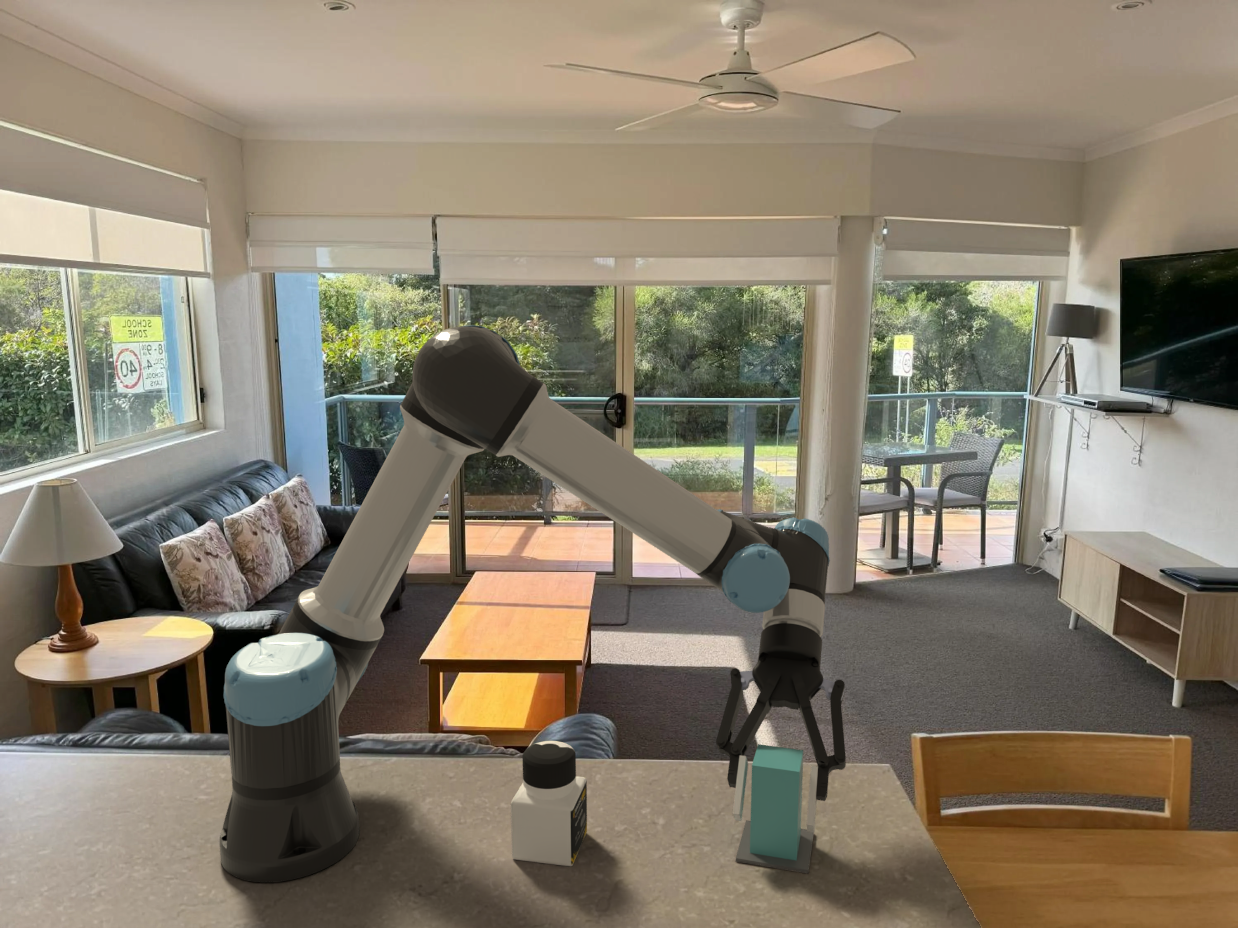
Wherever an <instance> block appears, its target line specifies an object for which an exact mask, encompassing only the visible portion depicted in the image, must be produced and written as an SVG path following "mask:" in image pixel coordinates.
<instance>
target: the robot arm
mask: <svg viewBox="0 0 1238 928" xmlns="http://www.w3.org/2000/svg"><path fill="white" fill-rule="evenodd" d="M399 409H400V412H401V415H402V418H403V419H402V420H403V427H402V428H401V430H400V432H399V433H398V436H397V437H396V440H395V442H394V443H393V445H392V447H391V449H390V451H389V452H388V454H387V457H386V459H385V460H384V462H383V464H382V466H381V468H380V469H379V471H378V473H377V475H376V477H375V478H374V481H373V483H372V485H371V486H370V488H369V490H368V492H367V493H366V496H365V498H364V499H363V501H362V504H360V507H359V508H358V511H357V512H356V514H355V516H354V519H353V520H352V522H351V524H350V526H349V528H348V529H347V531H346V533H345V535H344V537H343V539H342V541H341V543H340V544H339V546H338V548H337V550H336V552H335V554H334V555H333V558H332V560H331V561H330V563H329V565H328V567H327V569H326V571H325V573H324V575H323V576H322V578H321V580H320V582H319V583H318V586H315V587H312V588H308V589H304V590H303V591H301V592H300V593H299V595H298V597H297V599H296V600H295V603H294V604H293V607H292V608H291V609H290V612H289V614H288V615H287V617H286V619H285V621H284V622H283V625H282V627H281V628H280V631H279V632H278V633H277V634H273V635H269V636H266V637H262V638H260V639H259V640H258V642H250V643H248V644H247V645H246V646H244V647H242V648H241V649H239V650H238V651H236V653H235V654H234V655H232V657H231V658H230V660H229V662H228V664H227V665H226V668H225V672H224V685H223V695H222V696H223V699H224V701H223V702H224V704H225V712H226V713H225V714H226V722H227V723H226V725H227V727H226V728H227V739H228V747H229V749H228V750H229V761H230V762H229V763H230V774H231V786H232V788H231V789H232V791H231V795H230V800H229V802H228V806H227V809H226V810H227V811H226V813H225V816H224V820H223V821H224V822H223V824H222V828H221V832H220V835H219V841H218V842H219V856H220V857H219V859H220V863H221V865H222V867H223V869H224V870H225V871H226V872H227V873H228V874H230V875H231V876H233V877H235V878H237V879H240V880H244V881H248V882H252V883H253V882H254V883H255V882H256V883H279V882H287V881H292V880H296V879H301V878H303V877H307V876H310V875H312V874H313V875H314V874H315V873H318V872H320V871H323V870H325V869H327V868H329V867H331V866H332V865H334V864H335V863H337V862H339V861H341V860H342V859H343V858H344V857H345V856H347V855H348V854H349V853H350V852H351V851H352V849H353V848H354V847H355V845H356V843H357V842H358V839H359V837H360V819H359V817H360V816H359V812H358V808H357V806H356V805H355V803H354V801H353V800H352V797H351V795H350V792H349V790H348V787H347V784H346V782H345V778H344V777H343V774H342V771H341V770H342V769H341V758H340V757H341V754H340V752H341V751H340V738H339V736H340V735H339V718H340V715H341V713H342V711H343V709H344V707H345V705H346V704H347V701H348V699H349V698H350V696H351V694H352V693H353V691H354V689H355V687H356V685H357V684H358V683H359V681H360V680H361V679H362V677H363V675H364V674H365V672H366V669H367V668H368V665H369V661H370V660H371V658H372V656H373V655H374V652H375V651H376V649H377V648H378V645H379V643H380V640H381V639H382V637H383V636H384V632H385V627H384V623H383V621H382V619H381V618H382V617H381V614H382V613H383V611H384V609H385V607H386V605H387V603H388V602H389V599H390V598H391V596H392V594H393V593H394V591H395V589H396V587H397V585H398V583H399V581H400V579H401V577H402V576H403V574H404V572H405V570H406V568H407V567H408V565H409V563H410V561H411V559H412V558H413V556H414V554H415V552H416V551H417V549H418V546H419V544H421V543H420V542H421V541H422V539H423V537H424V536H425V533H426V532H427V529H428V528H429V526H430V524H431V523H432V520H433V519H434V517H435V515H436V513H437V512H438V510H439V508H440V506H441V504H442V502H443V501H444V498H445V497H446V496H447V493H448V491H449V490H450V487H451V486H452V484H453V482H454V480H455V479H456V477H457V474H458V473H459V471H460V469H461V467H462V466H463V464H464V461H465V460H466V458H467V457H468V456H471V455H473V454H476V453H480V452H483V451H484V450H486V451H489V452H490V453H491V454H493V455H494V456H496V457H497V458H500V457H504V456H513V457H515V458H516V459H518V460H519V461H520V462H522V463H524V464H525V465H527V466H528V467H530V468H532V469H533V470H534V471H536V472H537V473H539V474H541V475H543V476H544V477H545V478H547V479H548V480H550V481H552V482H553V483H555V484H556V485H558V486H559V487H561V488H563V489H565V490H566V491H568V492H569V493H570V494H572V495H574V496H575V497H576V498H578V499H579V500H581V501H583V502H584V503H586V504H587V505H589V506H590V507H592V508H593V509H595V510H597V511H598V512H599V513H602V514H603V515H604V516H606V517H607V518H609V519H610V520H612V521H614V522H615V523H617V524H619V525H621V527H623V528H624V529H627V531H629V532H631V533H632V534H634V535H635V536H637V537H638V538H640V539H642V540H643V541H645V542H646V543H648V544H650V545H651V546H652V547H654V548H655V549H657V550H659V551H660V552H662V553H664V554H665V555H667V556H669V557H670V558H671V559H673V560H675V561H676V562H678V563H679V564H680V565H682V566H684V567H686V568H687V569H688V570H690V571H692V572H693V573H694V574H695V575H697V576H698V577H700V578H701V579H703V580H704V581H705V582H707V583H709V584H710V585H712V586H713V587H715V588H716V589H718V590H720V591H721V592H723V595H724V596H725V597H726V599H727V600H728V601H729V602H731V603H732V604H733V605H735V606H736V607H737V608H738V609H740V610H742V611H744V612H747V613H753V614H758V613H759V614H760V613H763V616H762V624H761V627H762V631H761V633H760V642H759V648H758V657H757V658H758V659H757V661H756V664H755V666H754V667H753V668H752V670H742V671H741V670H740V669H738V668H736V667H735V668H733V669H731V670H730V683H731V686H730V690H729V694H728V697H727V702H726V705H725V707H724V710H723V711H724V712H723V714H722V719H721V722H720V726H719V729H718V733H717V736H716V740H715V743H716V747H717V750H718V752H719V753H720V754H723V755H725V756H728V758H729V762H728V768H727V769H728V770H727V776H726V777H727V778H726V779H727V783H728V786H729V788H735V790H734V796H733V799H734V800H733V806H732V816H733V818H734V821H738V822H742V819H743V812H744V804H745V803H744V802H745V794H746V785H747V777H748V769H749V762H748V759H747V756H746V755H745V754H746V753H747V751H748V749H749V747H750V745H751V743H752V742H753V740H754V738H755V737H756V734H757V733H758V730H759V729H760V727H761V725H762V724H763V722H764V720H765V718H766V717H767V715H768V714H769V713H770V711H771V709H772V708H784V707H785V708H787V709H790V710H797V711H798V710H799V712H800V716H801V718H802V720H803V721H802V722H803V723H804V727H805V730H806V733H807V736H808V740H809V742H810V747H811V749H812V752H813V754H814V755H813V756H814V759H815V761H816V762H815V763H816V764H817V765H815V764H811V766H810V772H809V775H810V776H809V785H808V800H807V814H806V830H807V832H814V833H815V826H816V816H817V815H816V813H817V812H816V811H817V801H823V802H825V801H826V800H827V798H828V790H829V777H830V773H831V772H832V771H836V770H839V771H841V770H844V769H845V768H846V766H847V765H846V762H847V761H846V759H847V758H846V744H845V735H844V734H845V733H844V723H843V711H842V704H843V701H844V697H845V693H846V692H845V690H846V687H845V682H844V681H843V680H842V679H837V680H835V681H833V680H830V679H828V678H825V677H824V676H823V674H822V671H821V662H822V646H823V639H822V636H823V634H824V624H825V623H824V622H825V610H826V604H825V603H826V593H827V581H828V573H829V572H828V570H829V565H830V561H831V560H830V543H829V540H830V537H829V534H828V532H827V531H826V529H825V528H824V527H823V526H822V525H821V524H820V523H818V522H816V521H814V520H812V519H809V518H802V519H799V518H797V517H789V518H785V519H782V520H781V521H778V522H777V523H776V525H775V526H774V527H771V526H770V527H769V526H766V525H764V524H761V523H757V522H756V521H752V520H750V519H748V518H747V519H746V518H743V517H741V516H738V515H735V514H732V513H729V512H726V511H724V509H720V508H719V509H716V508H715V507H713V506H712V505H710V504H709V503H707V502H705V501H704V500H703V499H701V498H700V497H698V496H697V495H695V494H694V493H692V492H691V491H689V490H688V489H686V488H685V487H683V486H682V485H680V484H679V483H677V482H675V481H674V480H673V479H672V478H669V477H668V476H667V475H666V474H664V473H663V472H661V471H659V470H658V469H656V468H655V467H654V466H652V465H650V464H649V463H647V462H646V461H645V460H643V459H641V458H640V457H638V456H637V455H635V454H634V453H632V452H631V451H630V450H627V448H625V447H624V446H622V445H621V444H620V443H617V442H616V441H614V440H613V439H611V438H610V437H608V436H607V435H606V434H603V433H602V432H601V431H599V430H598V429H596V427H593V426H592V425H590V424H589V423H588V422H586V421H584V420H583V419H582V418H580V417H578V416H577V415H575V414H574V413H573V412H571V411H570V410H569V409H566V408H565V407H563V406H562V405H560V404H559V403H557V402H556V401H555V400H553V399H551V397H550V396H549V392H548V388H547V384H545V383H544V382H542V381H541V380H539V378H537V377H536V376H534V375H532V374H530V373H529V372H528V371H527V370H526V369H524V368H523V367H522V366H521V364H520V360H519V357H518V354H517V352H516V350H515V349H514V347H513V346H512V345H511V343H510V342H509V341H508V340H507V339H506V338H505V337H503V336H501V335H500V334H499V333H497V331H496V330H493V329H490V328H488V327H485V326H483V325H482V326H481V325H476V324H475V325H474V324H470V325H460V326H453V327H449V328H446V329H444V330H440V331H439V332H437V333H436V334H434V335H432V336H431V337H430V338H429V339H427V341H426V342H425V343H424V344H423V345H422V346H421V348H420V350H419V351H418V353H417V354H416V358H415V359H414V364H413V368H412V383H411V384H410V386H409V388H408V390H407V392H406V394H405V396H404V398H403V399H402V401H401V404H400V405H399ZM752 682H754V683H755V685H756V687H757V688H758V690H759V694H758V696H757V697H756V701H755V702H754V703H755V704H754V705H753V707H752V709H751V710H750V713H749V714H748V716H747V718H746V720H745V721H744V723H743V725H742V727H741V728H740V730H739V732H738V734H737V735H736V737H735V739H734V741H733V742H732V737H733V733H734V730H735V727H736V723H737V719H738V715H739V713H740V708H741V705H742V702H743V698H744V697H743V696H744V691H746V690H748V689H749V686H750V683H752ZM821 690H823V691H824V694H825V698H826V699H827V700H828V701H830V704H829V705H830V717H831V732H832V743H833V754H832V755H828V753H827V751H826V748H825V745H824V742H823V739H822V734H821V731H820V729H819V726H818V723H817V720H816V717H815V714H814V711H813V707H812V702H811V700H812V699H813V698H814V697H815V696H816V695H817V694H818V693H819V692H820V691H821Z"/></svg>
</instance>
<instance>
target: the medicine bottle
mask: <svg viewBox="0 0 1238 928" xmlns="http://www.w3.org/2000/svg"><path fill="white" fill-rule="evenodd" d="M576 759H577V755H576V751H575V749H574V748H573V747H572V746H571V745H570V744H567V743H566V742H562V741H556V740H544V741H540V742H536V743H533V744H531V745H530V746H528V747H526V749H525V750H524V752H523V753H522V783H521V785H520V786H519V788H518V789H517V791H516V793H515V795H514V796H513V798H512V799H511V802H510V822H511V823H510V826H511V827H510V828H511V829H510V831H511V833H510V834H511V858H512V859H513V860H515V861H516V860H517V861H524V862H530V863H538V864H539V863H540V864H549V865H555V866H556V865H557V866H563V867H572V866H573V865H574V864H575V861H576V858H577V855H578V854H579V851H580V849H581V846H582V844H583V842H584V840H585V838H586V835H587V833H588V811H587V810H588V807H587V805H588V799H587V798H588V797H587V796H588V795H587V794H588V793H587V792H588V790H587V789H588V788H587V786H588V785H587V778H586V777H584V776H577V763H576V762H577V761H576Z"/></svg>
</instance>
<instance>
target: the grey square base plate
mask: <svg viewBox="0 0 1238 928" xmlns="http://www.w3.org/2000/svg"><path fill="white" fill-rule="evenodd" d="M750 825H751V820H749V819H748V820H747V819H745V823H744V827H743V831H742V833H741V837H740V841H739V845H738V847H737V852H736V855H735V862H737V863H743V864H748V865H755V866H761V867H766V868H767V867H768V868H771V869H772V868H774V869H779V870H786V871H791V872H797V873H800V874H801V873H802V874H809V871H810V866H811V864H810V863H811V859H812V857H811V856H812V851H813V850H812V849H813V842H814V835H815V834H814V833H815V831H814V832H807V828H805V829H804V828H801V836H800V842H799V848H798V854H797V861H796V860H790V859H784V858H778V857H772V856H766V855H760V854H754V853H750Z"/></svg>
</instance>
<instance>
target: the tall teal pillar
mask: <svg viewBox="0 0 1238 928" xmlns="http://www.w3.org/2000/svg"><path fill="white" fill-rule="evenodd" d="M803 773H804V749H798V748H791V747H783V746H774V745H767V744H766V745H765V744H759V743H758V744H757V747H756V751H755V754H754V757H753V760H752V763H751V783H750V785H751V787H750V788H751V790H750V792H751V793H750V795H751V796H750V821H751V825H750V853H754V854H760V855H766V856H772V857H778V858H784V859H790V860H796V861H797V854H798V848H799V842H800V836H801V829H802V805H803V804H802V803H803V800H802V799H803V777H804V776H803Z"/></svg>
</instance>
